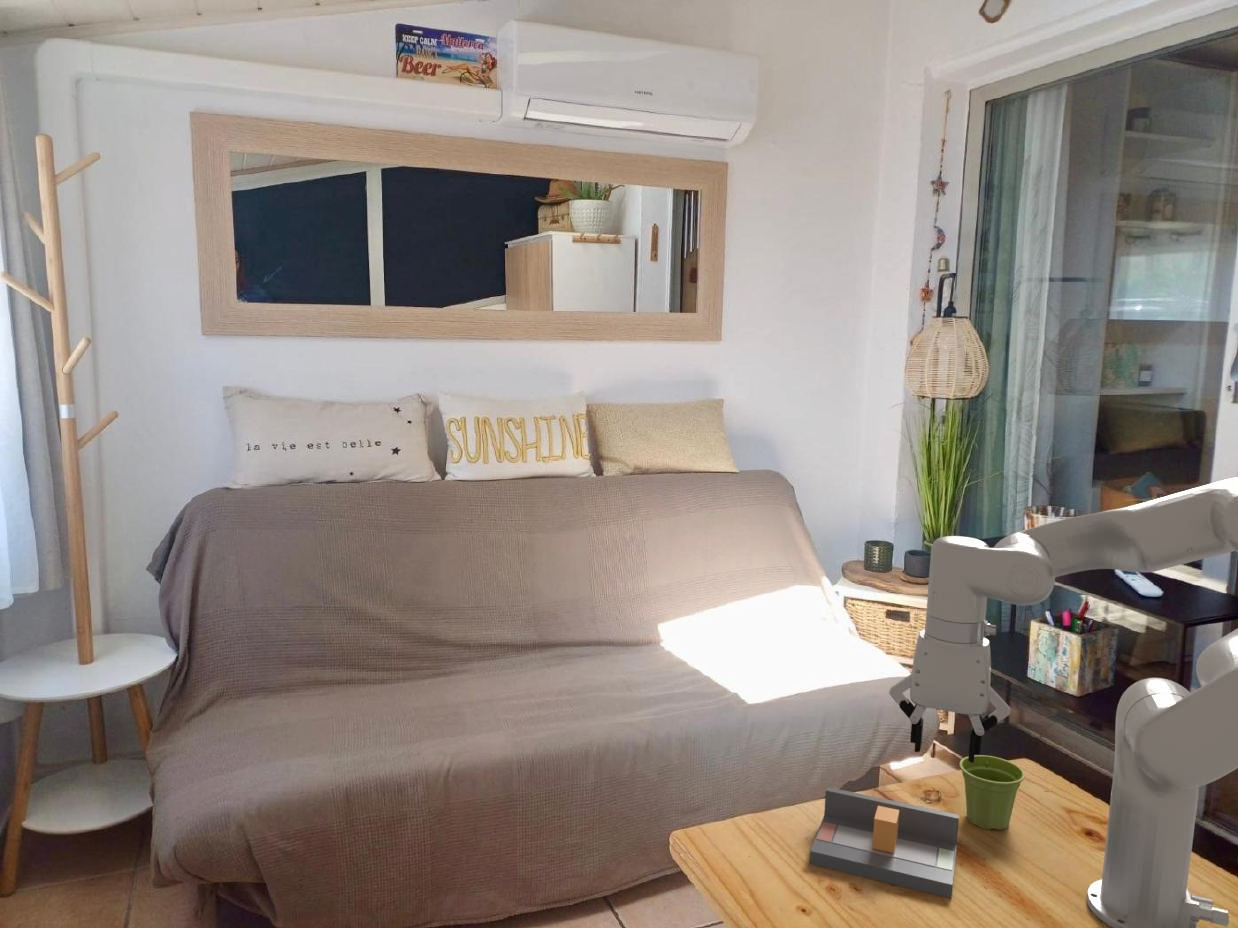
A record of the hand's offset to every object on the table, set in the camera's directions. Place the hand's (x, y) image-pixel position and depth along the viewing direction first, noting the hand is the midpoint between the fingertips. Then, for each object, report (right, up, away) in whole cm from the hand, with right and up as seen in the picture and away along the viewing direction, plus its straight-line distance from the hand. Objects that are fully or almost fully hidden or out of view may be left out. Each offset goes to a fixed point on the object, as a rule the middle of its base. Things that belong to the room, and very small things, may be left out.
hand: (944, 752), depth 127 cm
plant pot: (+12, -16, +16) cm, 26 cm away
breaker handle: (-7, -15, +5) cm, 17 cm away
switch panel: (-7, -17, +5) cm, 19 cm away
